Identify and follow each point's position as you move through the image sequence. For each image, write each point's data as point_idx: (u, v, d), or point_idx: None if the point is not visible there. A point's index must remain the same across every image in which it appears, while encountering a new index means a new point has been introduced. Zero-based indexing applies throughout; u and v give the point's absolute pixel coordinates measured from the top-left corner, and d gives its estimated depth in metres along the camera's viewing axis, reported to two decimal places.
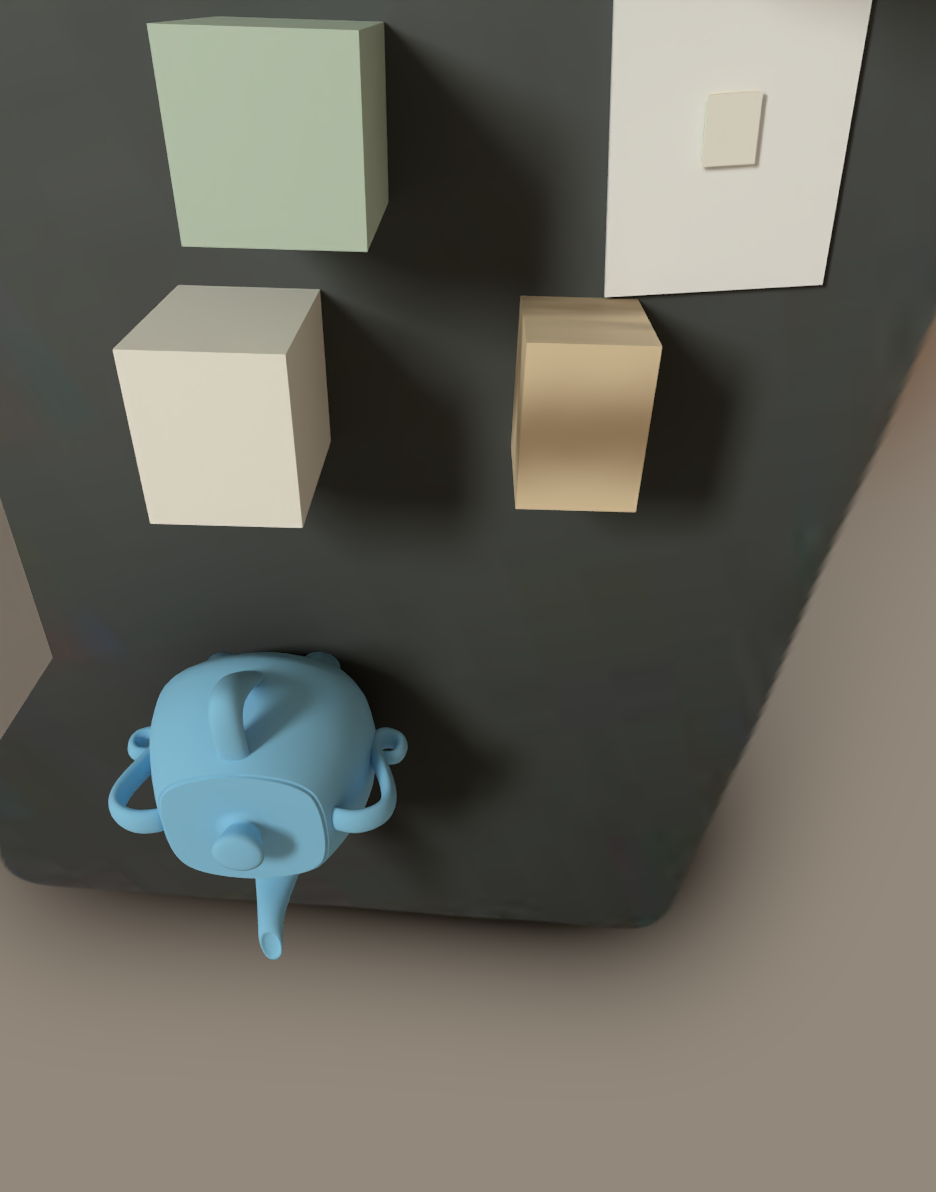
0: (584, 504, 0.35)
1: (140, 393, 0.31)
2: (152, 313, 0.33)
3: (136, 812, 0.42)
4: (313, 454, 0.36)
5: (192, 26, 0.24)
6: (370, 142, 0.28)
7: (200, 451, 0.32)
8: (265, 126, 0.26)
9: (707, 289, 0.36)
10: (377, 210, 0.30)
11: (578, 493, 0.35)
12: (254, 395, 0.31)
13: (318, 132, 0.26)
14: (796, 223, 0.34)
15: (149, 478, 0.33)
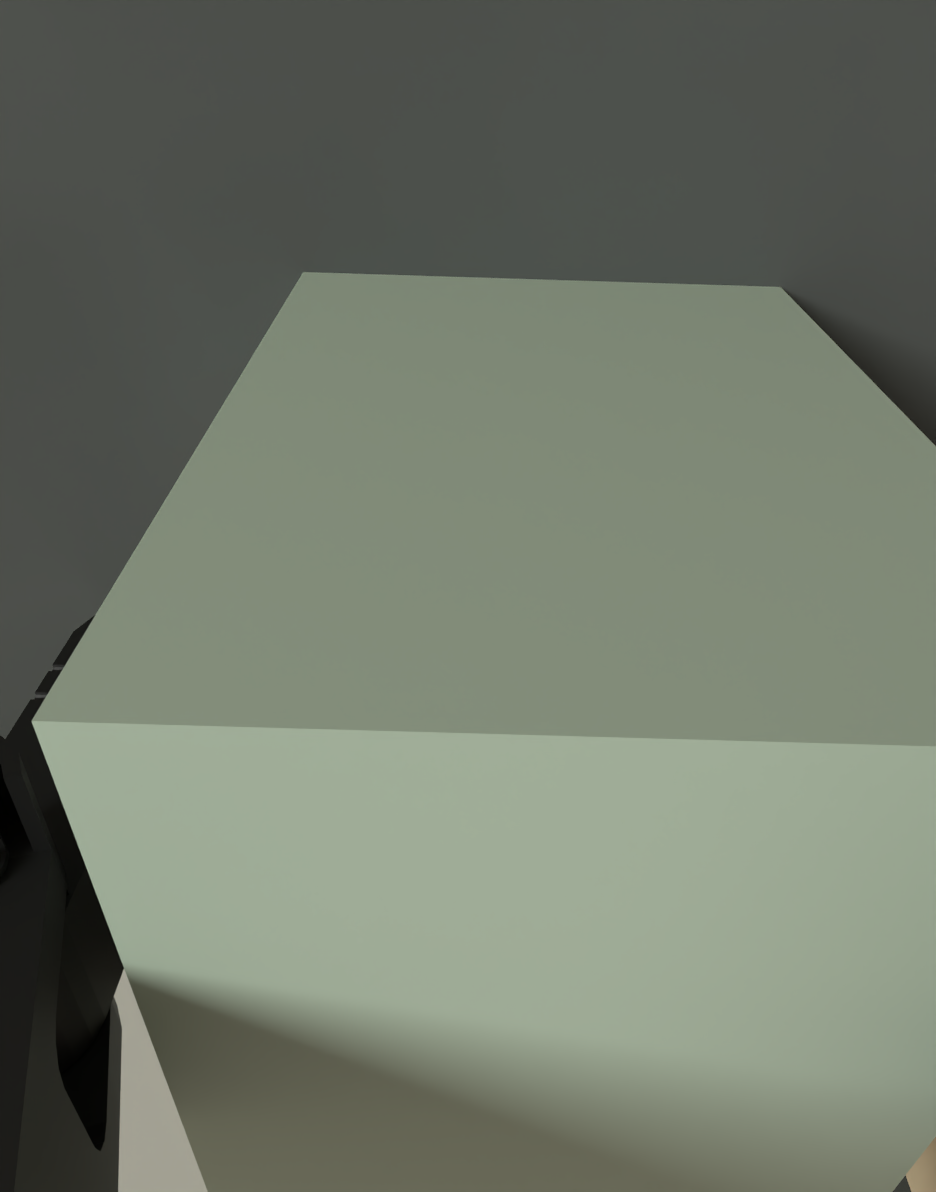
0: None
1: None
2: (125, 977, 0.13)
3: None
4: None
5: (292, 731, 0.04)
6: None
7: None
8: (596, 1005, 0.06)
9: None
10: None
11: None
12: None
13: (829, 1017, 0.06)
14: None
15: None
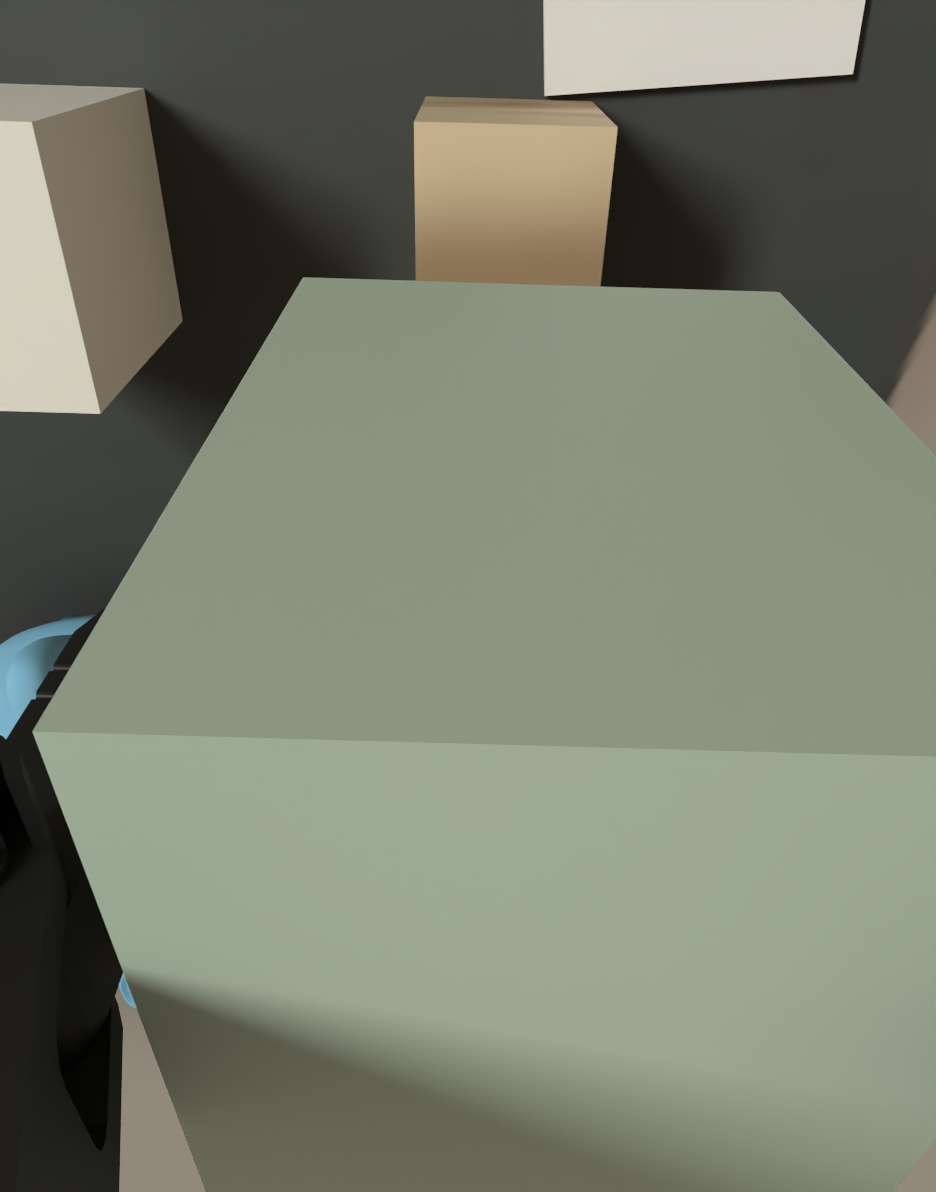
0: None
1: None
2: None
3: None
4: (132, 318, 0.25)
5: (291, 742, 0.04)
6: None
7: None
8: (594, 1012, 0.06)
9: (689, 82, 0.25)
10: None
11: None
12: None
13: (827, 1025, 0.06)
14: None
15: None
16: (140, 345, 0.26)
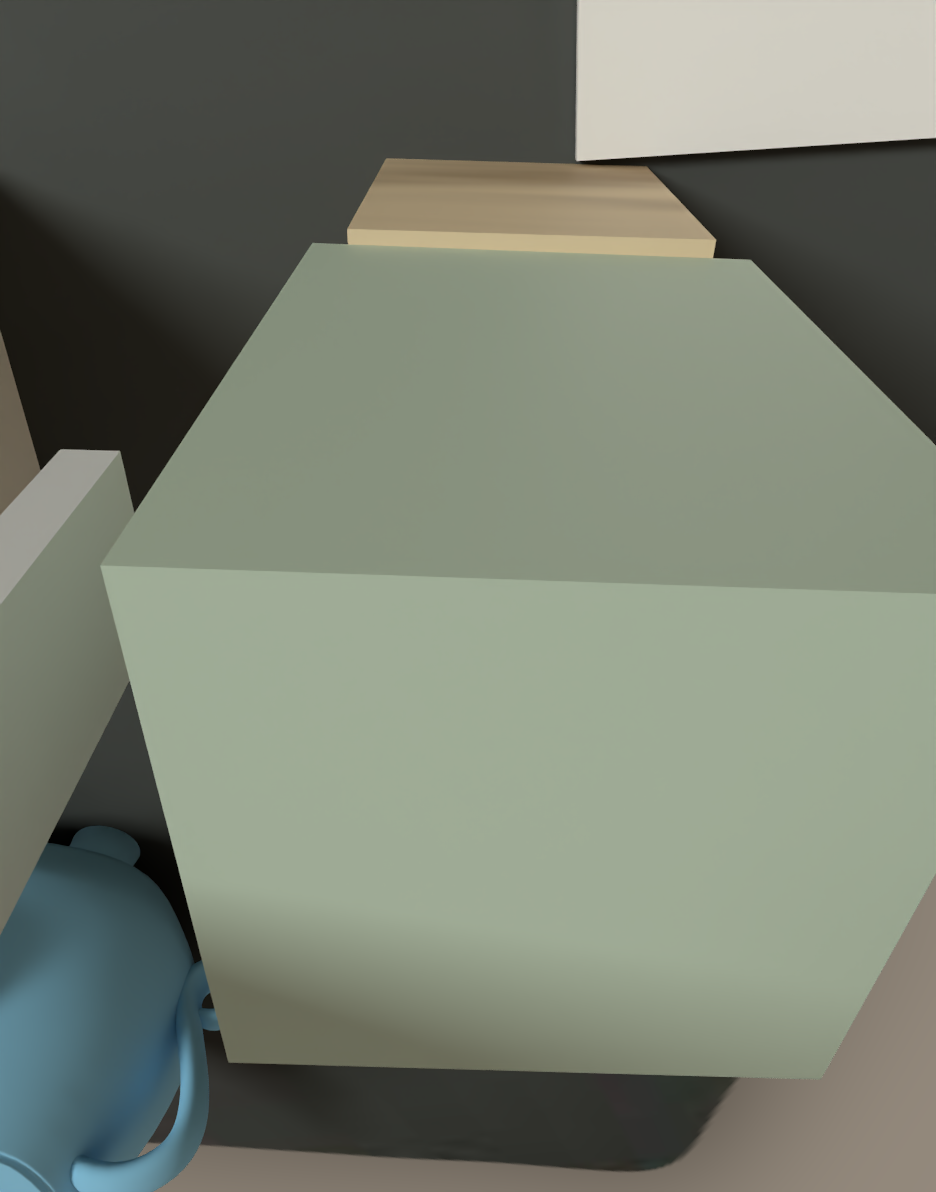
0: None
1: None
2: None
3: None
4: None
5: (314, 576, 0.05)
6: None
7: None
8: (570, 849, 0.07)
9: (807, 141, 0.16)
10: None
11: None
12: None
13: (770, 863, 0.07)
14: None
15: None
16: None
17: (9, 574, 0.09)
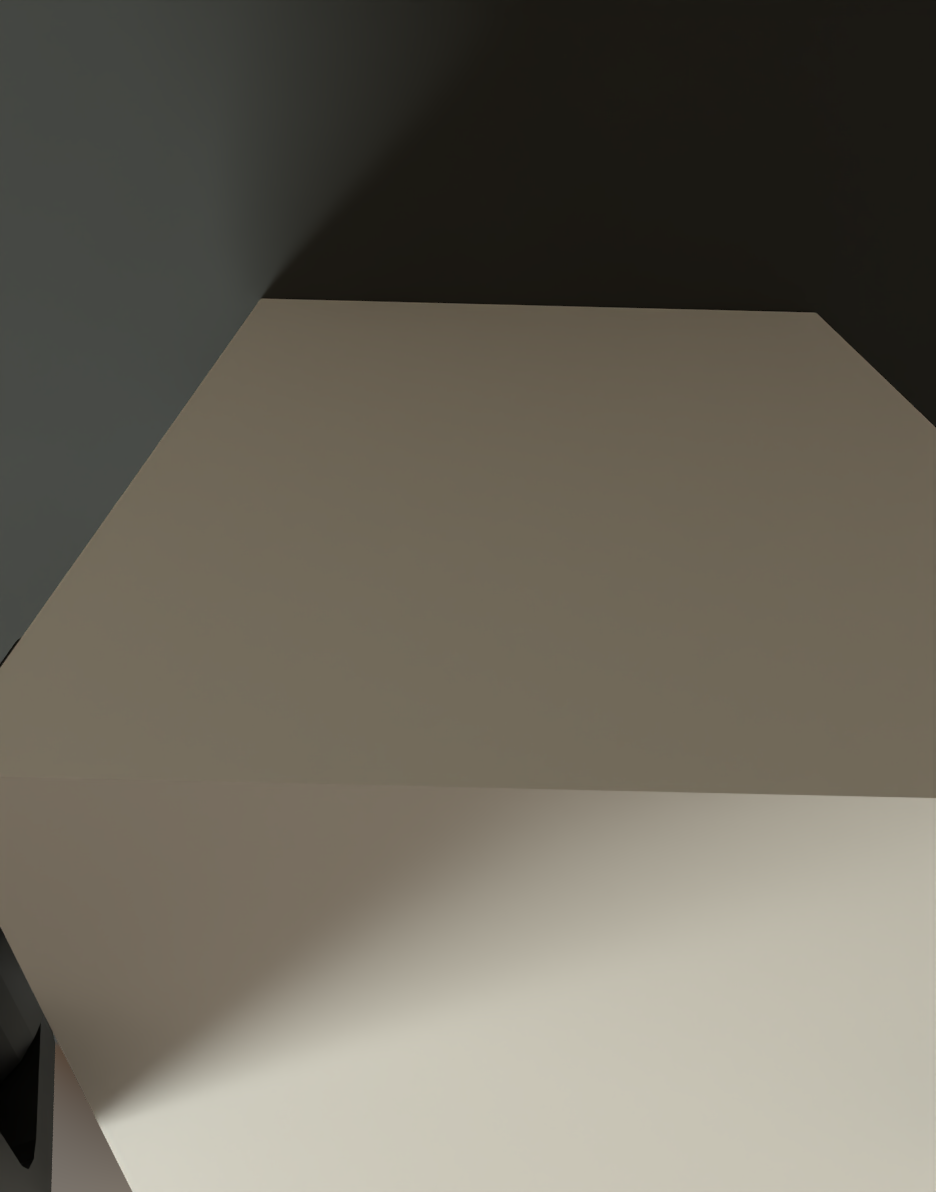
0: None
1: None
2: None
3: None
4: (811, 474, 0.07)
5: None
6: None
7: (610, 1118, 0.06)
8: None
9: None
10: None
11: None
12: (263, 931, 0.05)
13: None
14: None
15: None
16: (906, 464, 0.07)
17: None
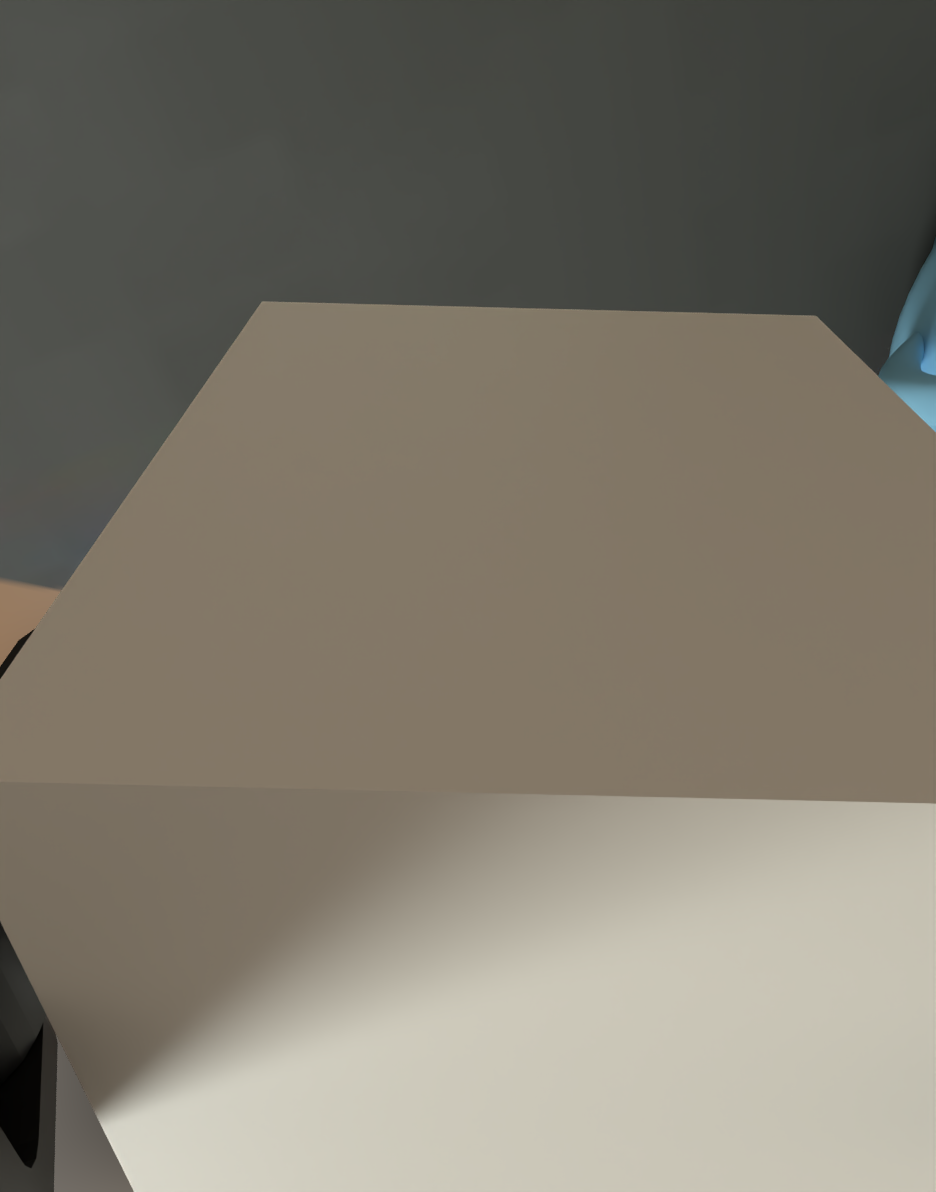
0: None
1: None
2: None
3: None
4: (811, 479, 0.07)
5: None
6: None
7: (611, 1120, 0.06)
8: None
9: None
10: None
11: None
12: (266, 934, 0.05)
13: None
14: None
15: None
16: (906, 468, 0.07)
17: None
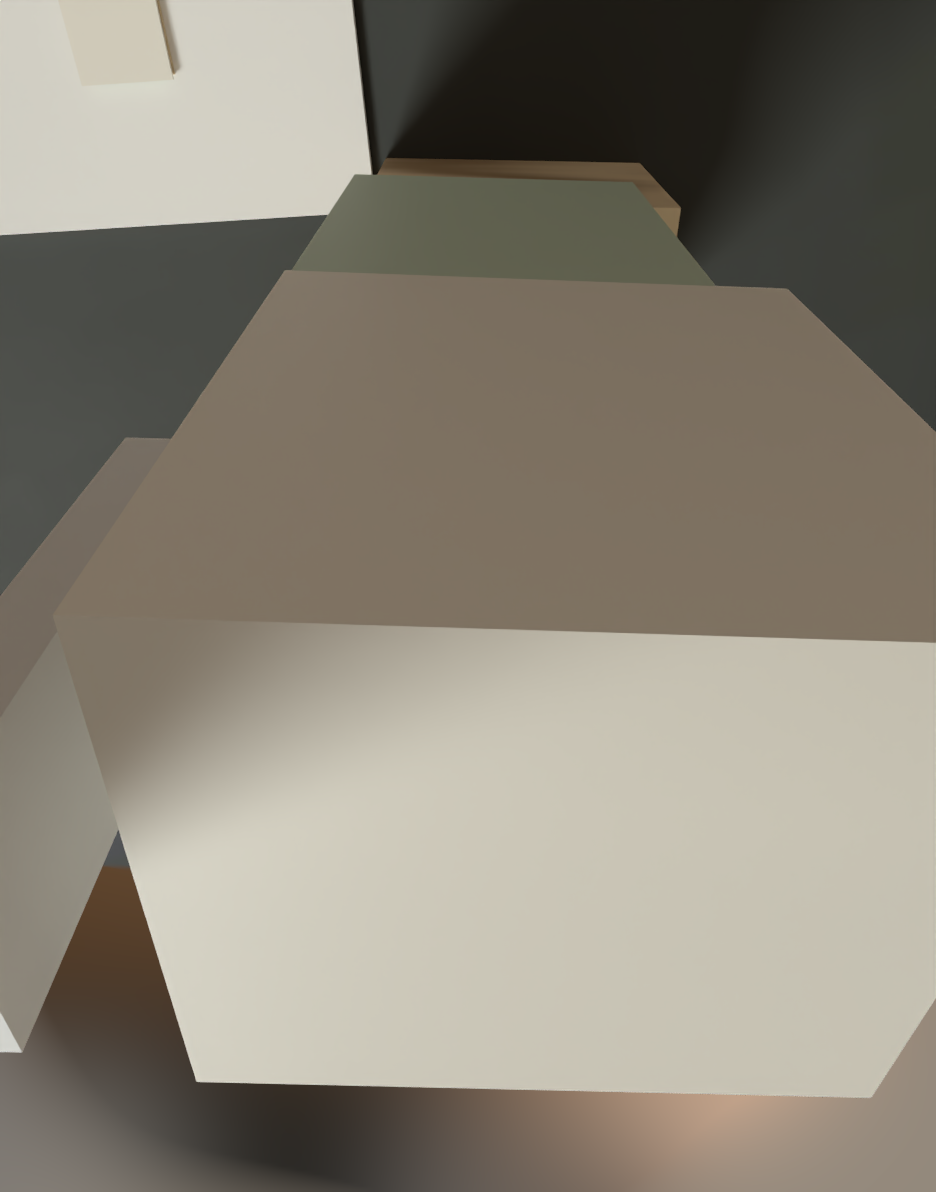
0: None
1: (346, 1055, 0.08)
2: None
3: None
4: (772, 416, 0.08)
5: None
6: (505, 246, 0.14)
7: (594, 953, 0.07)
8: None
9: (351, 31, 0.22)
10: (638, 228, 0.15)
11: None
12: (313, 764, 0.06)
13: None
14: None
15: (685, 1076, 0.09)
16: (855, 409, 0.08)
17: None
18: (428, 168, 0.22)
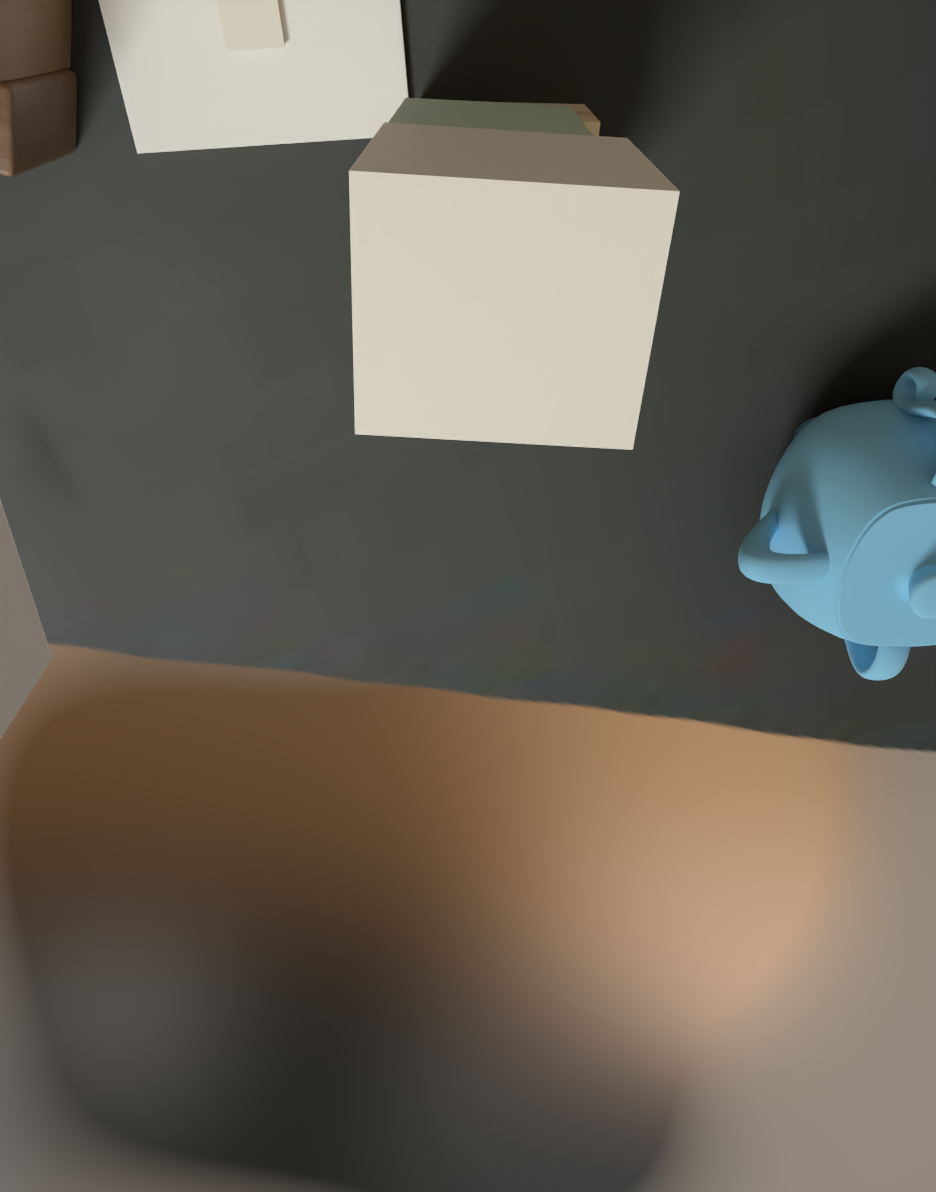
0: None
1: (418, 413, 0.21)
2: None
3: (874, 662, 0.42)
4: (592, 160, 0.21)
5: None
6: (492, 122, 0.26)
7: (515, 345, 0.20)
8: None
9: (398, 15, 0.34)
10: (564, 120, 0.28)
11: None
12: (420, 238, 0.19)
13: None
14: None
15: (555, 432, 0.21)
16: (627, 160, 0.21)
17: None
18: None
